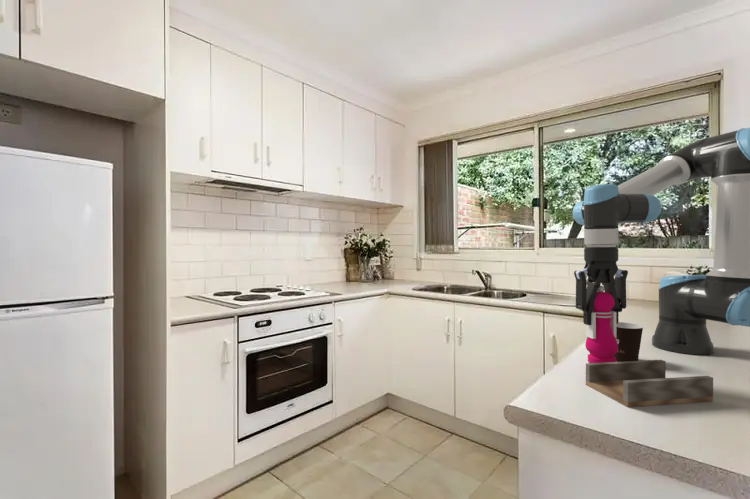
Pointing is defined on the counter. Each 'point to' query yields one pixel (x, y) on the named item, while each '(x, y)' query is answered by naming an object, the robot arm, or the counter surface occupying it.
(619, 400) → the rail track
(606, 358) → the pepper mill
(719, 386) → the counter surface
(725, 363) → the counter surface
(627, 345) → the coffee mug
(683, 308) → the robot arm
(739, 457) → the counter surface
